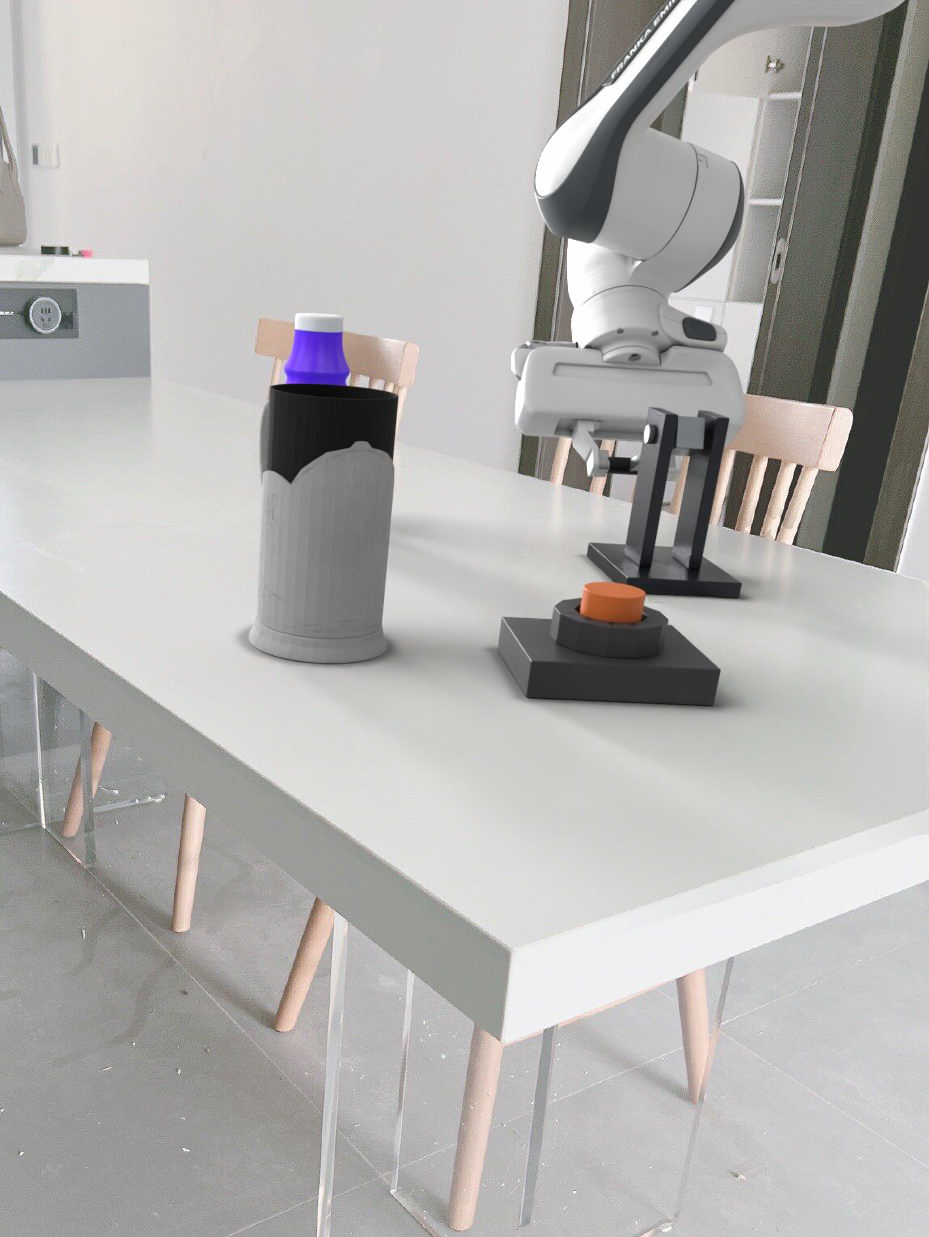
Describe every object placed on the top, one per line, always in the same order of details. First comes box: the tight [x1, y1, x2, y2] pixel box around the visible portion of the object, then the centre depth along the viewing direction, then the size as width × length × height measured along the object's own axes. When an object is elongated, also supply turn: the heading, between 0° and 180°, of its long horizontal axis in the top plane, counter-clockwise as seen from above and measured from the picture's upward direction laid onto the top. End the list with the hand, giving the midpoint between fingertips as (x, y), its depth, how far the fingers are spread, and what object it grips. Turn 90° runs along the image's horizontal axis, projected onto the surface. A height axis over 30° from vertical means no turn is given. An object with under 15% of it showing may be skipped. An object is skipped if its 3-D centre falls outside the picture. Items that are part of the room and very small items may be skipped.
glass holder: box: [248, 383, 399, 664], centre depth 76 cm, size 9×14×15 cm, turn 26°
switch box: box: [497, 597, 722, 706], centre depth 73 cm, size 11×9×4 cm
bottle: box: [283, 312, 351, 386], centre depth 106 cm, size 7×6×17 cm
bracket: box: [586, 407, 743, 599], centre depth 96 cm, size 12×9×13 cm
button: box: [580, 581, 647, 623], centre depth 72 cm, size 4×4×2 cm
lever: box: [606, 416, 705, 476], centre depth 100 cm, size 14×5×2 cm, turn 3°
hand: (635, 475), depth 106 cm, fingers closed on lever, 5 cm apart
